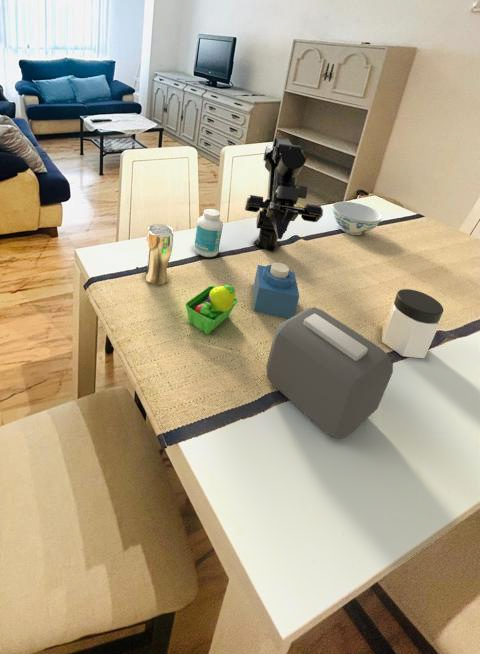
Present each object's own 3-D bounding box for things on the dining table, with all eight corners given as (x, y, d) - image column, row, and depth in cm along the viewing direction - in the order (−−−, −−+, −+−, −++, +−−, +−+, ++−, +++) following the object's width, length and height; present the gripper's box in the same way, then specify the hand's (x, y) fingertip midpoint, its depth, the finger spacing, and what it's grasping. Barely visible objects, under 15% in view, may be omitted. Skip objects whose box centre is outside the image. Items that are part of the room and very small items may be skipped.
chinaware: (385, 242, 129) (392, 222, 126) (341, 240, 129) (347, 219, 126) (360, 221, 143) (365, 202, 140) (319, 219, 143) (325, 200, 140)
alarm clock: (372, 420, 69) (400, 354, 63) (337, 453, 63) (364, 383, 57) (292, 356, 82) (309, 296, 76) (257, 379, 76) (272, 316, 70)
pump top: (269, 267, 97) (271, 261, 96) (286, 271, 96) (288, 264, 95) (270, 277, 93) (272, 269, 92) (288, 280, 92) (289, 273, 91)
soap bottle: (253, 286, 103) (259, 258, 100) (288, 294, 101) (296, 265, 98) (253, 310, 94) (260, 280, 91) (293, 319, 92) (301, 289, 89)
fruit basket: (208, 300, 97) (215, 262, 93) (240, 319, 91) (248, 280, 87) (181, 322, 89) (186, 282, 85) (214, 344, 84) (221, 302, 79)
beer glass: (172, 275, 106) (177, 227, 101) (163, 289, 100) (169, 239, 95) (148, 268, 109) (152, 221, 103) (139, 281, 103) (143, 232, 97)
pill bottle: (218, 260, 114) (225, 219, 109) (193, 256, 116) (199, 216, 111) (217, 247, 121) (224, 208, 116) (193, 243, 122) (199, 205, 117)
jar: (434, 352, 84) (454, 309, 80) (413, 364, 81) (432, 319, 77) (392, 325, 92) (409, 284, 87) (371, 335, 88) (387, 292, 84)
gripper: (253, 167, 102) (246, 222, 96) (330, 178, 97) (328, 237, 91) (248, 184, 112) (241, 235, 106) (317, 194, 107) (314, 248, 101)
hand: (279, 238), depth 101 cm, fingers closed
